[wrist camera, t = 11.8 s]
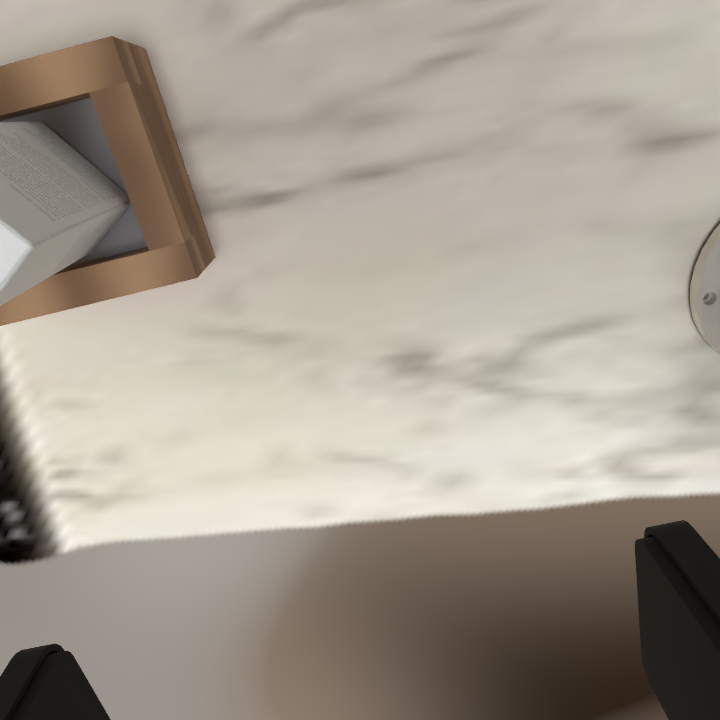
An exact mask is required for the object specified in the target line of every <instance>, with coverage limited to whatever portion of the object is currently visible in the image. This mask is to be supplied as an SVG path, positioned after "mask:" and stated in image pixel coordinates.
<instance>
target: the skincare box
mask: <svg viewBox="0 0 720 720" xmlns="http://www.w3.org/2000/svg"><path fill="white" fill-rule="evenodd" d="M130 205H131V202H130V199H129V197H128V194H126V193H125V192H124V191H123V190H122V189H121V188H119V187H118V186H117V185H116V184H115V183H114V182H112V181H111V180H110V179H109V178H108V177H106V176H105V175H104V174H103V173H102V172H101V171H99V170H98V169H97V168H96V167H95V166H94V165H92V164H91V163H90V162H89V161H88V160H86V159H85V158H84V157H83V156H82V155H81V154H79V153H78V152H77V151H76V150H75V149H73V148H72V147H71V146H70V145H69V144H67V143H66V142H65V141H64V140H63V139H62V138H60V137H59V136H58V135H57V134H56V133H55V132H53V131H52V130H51V129H50V128H49V127H48V126H46V125H45V124H44V123H43V122H41V121H31V122H30V121H26V122H0V306H1V305H3V304H4V303H6V302H8V301H10V300H11V299H13V298H15V297H17V296H18V295H20V294H21V293H23V292H25V291H26V290H28V289H30V288H31V287H33V286H35V285H36V284H38V283H40V282H42V281H43V280H45V279H47V278H49V277H50V276H52V275H54V274H55V273H57V272H59V271H60V270H62V269H64V268H65V267H67V266H69V265H70V264H72V263H74V262H76V261H77V260H79V259H81V258H82V257H84V256H86V255H88V254H89V253H91V252H92V251H93V250H94V249H95V248H96V246H97V245H98V244H99V243H100V241H101V240H102V239H103V238H104V236H105V235H106V234H107V233H108V232H109V230H110V229H111V228H112V227H113V226H114V224H115V223H116V222H117V221H118V220H119V218H120V217H121V216H122V215H123V213H124V212H125V211H126V210H127V208H128V207H129V206H130Z"/></svg>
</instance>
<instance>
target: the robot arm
mask: <svg viewBox="0 0 720 720" xmlns="http://www.w3.org/2000/svg"><path fill="white" fill-rule="evenodd" d="M690 306H691V311H692V317H693V320H694V322H695V324H696V327H697V329H698V332H699V333H700V334H701V336H702V337H703V338H704V340H705V341H706V342H707V344H709V345H710V346H711V347H712V348H714V349H715V350H716V351H717V352H719V353H720V224H719V225H718V226H717V228H716V229H715V230H714V231H713V232H712V234H711V236H710V237H709V239H708V240H707V242H706V244H705V245H704V247H703V248H702V251H701V253H700V255H699V258H698V260H697V262H696V265H695V267H694V272H693V276H692V280H691V285H690ZM635 556H636V572H637V590H638V606H639V623H640V638H641V639H640V640H641V656H642V663H643V667H644V671H645V673H646V676H647V679H648V681H649V683H650V685H651V687H652V689H653V691H654V693H655V695H656V697H657V699H658V700H659V702H660V704H661V706H662V708H663V709H664V712H665V713H666V715H667V717H668V719H669V720H720V559H719V557H718V556H717V555H716V554H715V553H714V552H713V550H712V549H711V548H710V547H709V546H708V545H707V543H706V542H705V541H704V540H703V539H702V537H701V536H700V535H699V534H698V533H697V532H696V530H695V529H694V528H693V527H692V526H691V525H690V524H689V523H688V522H686V521H684V520H683V521H677V522H672V523H667V524H662V525H658V526H652V527H648V528H646V529H645V534H644V538H643V539H637V540H636V542H635ZM0 720H110V718H109V716H108V714H107V713H106V711H105V709H104V708H103V706H102V704H101V702H100V701H99V699H98V697H97V696H96V694H95V692H94V691H93V689H92V687H91V685H90V684H89V682H88V680H87V678H86V677H85V675H84V673H83V672H82V670H81V668H80V666H79V665H78V663H77V661H76V660H75V658H74V656H73V655H72V654H71V652H69V651H64V649H63V648H62V647H61V646H60V645H58V644H50V645H45V646H40V647H35V648H30V649H25V650H21V651H19V652H18V653H16V654H15V655H14V656H13V658H12V659H11V660H10V662H9V664H8V665H7V667H6V668H5V670H4V672H3V673H2V675H1V676H0Z"/></svg>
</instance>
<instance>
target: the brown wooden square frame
mask: <svg viewBox="0 0 720 720" xmlns="http://www.w3.org/2000/svg"><path fill="white" fill-rule="evenodd" d="M26 121H30V122H31V121H41V122H43V123H44V124H45V125H46V126H48V127H49V128H50V129H51V130H52V131H53V132H55V133H56V134H57V135H58V136H59V137H60V138H62V139H63V140H64V141H65V142H66V143H67V144H69V145H70V146H71V147H72V148H73V149H75V150H76V151H77V152H78V153H79V154H81V155H82V156H83V157H84V158H85V159H86V160H88V161H89V162H90V163H91V164H92V165H94V166H95V167H96V168H97V169H98V170H99V171H101V172H102V173H103V174H104V175H105V176H106V177H108V178H109V179H110V180H111V181H112V182H114V183H115V184H116V185H117V186H118V187H119V188H121V189H122V190H123V191H124V192H125V193H126V194H128V197H129V199H130V202H131V205H130V206H129V207H128V208H127V210H126V211H125V212H124V213H123V215H122V216H121V217H120V218H119V220H118V221H117V222H116V223H115V224H114V226H113V227H112V228H111V229H110V230H109V232H108V233H107V234H106V235H105V236H104V238H103V239H102V240H101V241H100V243H99V244H98V245H97V246H96V248H95V249H94V250H93V251H92V252H91V253H89V254H88V255H86V256H84V257H82V258H81V259H79V260H77V261H76V262H74V263H72V264H70V265H69V266H67V267H65V268H64V269H62V270H60V271H59V272H57V273H55V274H54V275H52V276H50V277H49V278H47V279H45V280H43V281H42V282H40V283H38V284H36V285H35V286H33V287H31V288H30V289H28V290H26V291H25V292H23V293H21V294H20V295H18V296H17V297H15V298H13V299H11V300H10V301H8V302H6V303H4V304H3V305H1V306H0V326H2V325H6V324H10V323H14V322H18V321H22V320H26V319H30V318H35V317H39V316H43V315H47V314H51V313H55V312H59V311H63V310H67V309H71V308H75V307H80V306H84V305H88V304H92V303H96V302H100V301H104V300H108V299H112V298H116V297H121V296H125V295H129V294H133V293H137V292H141V291H145V290H149V289H153V288H157V287H162V286H166V285H170V284H174V283H178V282H182V281H186V280H190V279H194V278H197V277H198V276H199V275H200V274H201V273H202V272H203V271H204V269H205V268H206V267H207V266H208V265H209V264H210V263H211V261H212V260H213V259H214V258H215V255H214V252H213V249H212V246H211V243H210V240H209V237H208V234H207V231H206V228H205V225H204V222H203V219H202V216H201V214H200V211H199V208H198V205H197V202H196V199H195V196H194V193H193V190H192V187H191V184H190V181H189V178H188V175H187V172H186V169H185V166H184V163H183V160H182V157H181V154H180V151H179V148H178V145H177V142H176V139H175V136H174V133H173V130H172V127H171V124H170V121H169V118H168V115H167V112H166V109H165V106H164V103H163V100H162V97H161V94H160V92H159V89H158V86H157V83H156V80H155V77H154V74H153V71H152V68H151V65H150V62H149V59H148V56H147V53H146V50H145V49H144V48H142V47H139V46H136V45H134V44H131V43H128V42H126V41H123V40H120V39H118V38H115V37H112V36H111V37H107V38H104V39H100V40H96V41H92V42H89V43H85V44H81V45H77V46H74V47H70V48H66V49H63V50H59V51H55V52H51V53H48V54H44V55H40V56H37V57H33V58H29V59H25V60H22V61H18V62H14V63H10V64H7V65H3V66H0V122H26Z"/></svg>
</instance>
